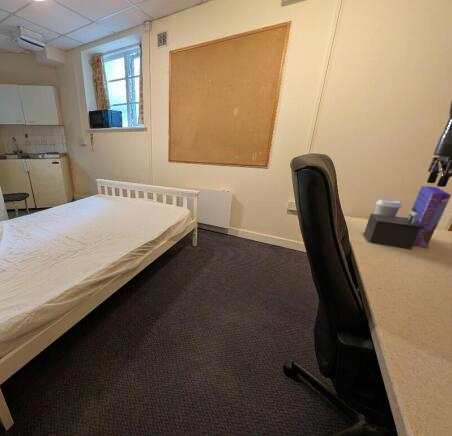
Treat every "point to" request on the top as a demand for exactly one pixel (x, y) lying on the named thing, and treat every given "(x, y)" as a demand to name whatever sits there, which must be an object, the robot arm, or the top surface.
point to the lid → (398, 220)
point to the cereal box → (429, 212)
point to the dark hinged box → (390, 234)
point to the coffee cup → (387, 207)
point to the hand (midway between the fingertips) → (435, 184)
